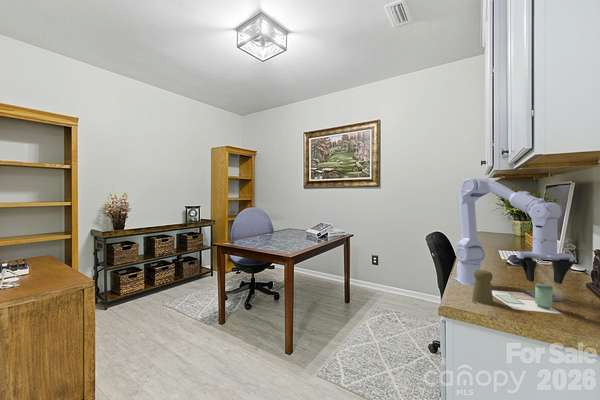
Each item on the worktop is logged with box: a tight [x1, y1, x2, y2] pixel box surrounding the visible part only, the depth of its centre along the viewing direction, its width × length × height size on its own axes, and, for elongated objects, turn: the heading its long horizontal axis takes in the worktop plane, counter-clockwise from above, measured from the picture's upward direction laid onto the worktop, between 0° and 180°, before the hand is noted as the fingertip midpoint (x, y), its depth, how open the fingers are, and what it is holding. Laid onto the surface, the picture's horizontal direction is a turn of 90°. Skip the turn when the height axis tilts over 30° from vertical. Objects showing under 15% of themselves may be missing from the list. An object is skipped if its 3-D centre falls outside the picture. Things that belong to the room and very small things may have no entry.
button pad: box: [525, 289, 564, 303], centre depth 91 cm, size 7×7×2 cm
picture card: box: [492, 289, 563, 315], centre depth 87 cm, size 18×13×1 cm
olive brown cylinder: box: [471, 269, 494, 306], centre depth 86 cm, size 6×6×11 cm
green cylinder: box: [534, 283, 554, 309], centre depth 82 cm, size 4×4×7 cm
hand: (543, 281), depth 82 cm, fingers open, 7 cm apart
